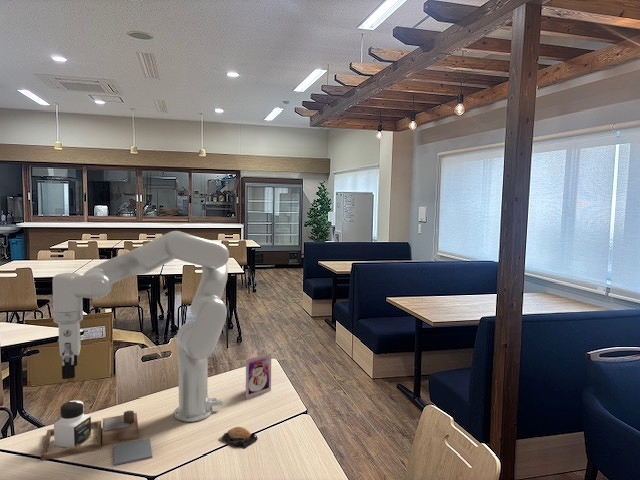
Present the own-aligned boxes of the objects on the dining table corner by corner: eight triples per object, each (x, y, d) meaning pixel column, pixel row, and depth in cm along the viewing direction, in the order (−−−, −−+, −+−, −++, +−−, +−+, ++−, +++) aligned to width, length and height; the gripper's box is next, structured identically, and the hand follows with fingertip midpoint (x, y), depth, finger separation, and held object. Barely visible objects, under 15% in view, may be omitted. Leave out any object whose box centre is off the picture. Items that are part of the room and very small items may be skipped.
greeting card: (247, 400, 165) (247, 360, 164) (236, 393, 171) (236, 354, 169) (272, 391, 173) (272, 353, 172) (261, 385, 179) (261, 348, 177)
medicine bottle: (75, 449, 132) (73, 410, 131) (54, 446, 133) (52, 407, 132) (92, 436, 139) (90, 399, 138) (71, 434, 140) (70, 396, 139)
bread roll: (216, 442, 138) (216, 431, 138) (234, 430, 145) (234, 419, 145) (243, 452, 133) (243, 440, 132) (260, 439, 140) (260, 428, 140)
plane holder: (136, 418, 150) (136, 401, 150) (139, 441, 137) (138, 422, 136) (47, 434, 140) (46, 415, 139) (40, 460, 126) (40, 440, 125)
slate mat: (149, 439, 138) (149, 438, 138) (152, 457, 129) (152, 455, 128) (113, 447, 133) (113, 445, 133) (114, 465, 124) (113, 463, 124)
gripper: (81, 322, 126) (82, 381, 127) (84, 307, 141) (85, 360, 143) (50, 324, 123) (52, 385, 124) (56, 309, 138) (58, 363, 140)
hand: (70, 372), depth 134 cm, fingers open, 9 cm apart
